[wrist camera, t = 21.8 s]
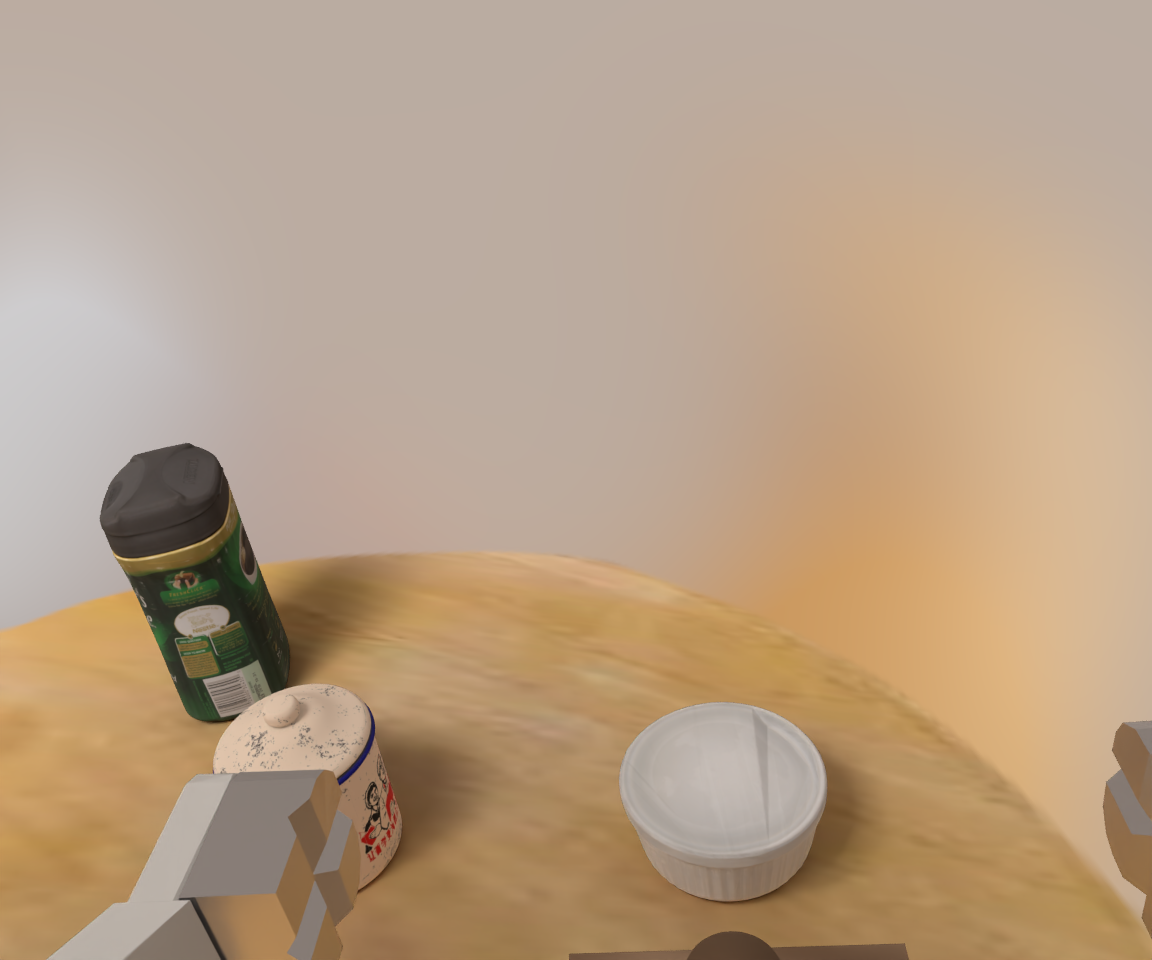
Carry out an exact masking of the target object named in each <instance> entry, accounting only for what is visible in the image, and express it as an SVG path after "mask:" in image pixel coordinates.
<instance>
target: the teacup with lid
mask: <svg viewBox="0 0 1152 960" xmlns="http://www.w3.org/2000/svg"><path fill="white" fill-rule="evenodd" d="M293 770H329V771H333V772H334V774H335V777H336V779H337V781H338V784H339V786H340V788H341V791H342V795H341V798H340V801H339V804H338V808H337V810H339V811H340V812H342V813H343V814H344V815H346V816H347V817H349V818H350V819H351V820H353V823H354V826H355V829H356V831H357V834H358V839H359V846H360V853H361V865H360V881H359V887H358V890H359V889H361V888H362V887H364V886H365V885H367V884H368V883H369V882H371V881H372V880H373V879H374V878H375V877H377V876H378V875H379V874H380V873H381V872H382V871H383V869H384V868H385V867H386V866H387V865H388V863H389V862H390V860H391V859H392V857H393V856H394V854H395V852H396V850H397V848H398V845H399V842H400V838H401V834H402V819H401V814H400V810H399V807H398V804H397V801H396V798H395V795H394V792H393V789H392V786H391V783H390V780H389V777H388V774H387V771H386V768H385V765H384V762H383V759H382V756H381V753H380V750H379V747H378V744H377V741H376V738H375V722H374V718H373V715H372V713H371V711H370V709H369V707H368V706H367V705H366V704H365V703H364V702H363V701H362V700H361V699H360V698H359V697H358V696H357V695H356V694H354V693H352V692H351V691H349V690H347V689H345V688H342V687H339V686H335V685H329V684H306V685H299V686H294V687H291V688H287V689H284V690H281V691H278V692H276V693H273V694H271V695H269V696H267V697H265V698H263V699H261V700H259V701H258V702H256V703H255V704H253V705H252V706H250V707H249V708H247V709H246V710H245V711H244V712H242V713H241V714H240V715H239V716H238V717H237V718H236V719H235V720H234V721H233V722H232V723H231V724H230V725H229V727H228V728H227V729H226V731H225V732H224V734H223V735H222V737H221V739H220V741H219V743H218V745H217V748H216V751H215V755H214V760H213V774H221V773H240V772H261V771H293Z"/></svg>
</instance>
